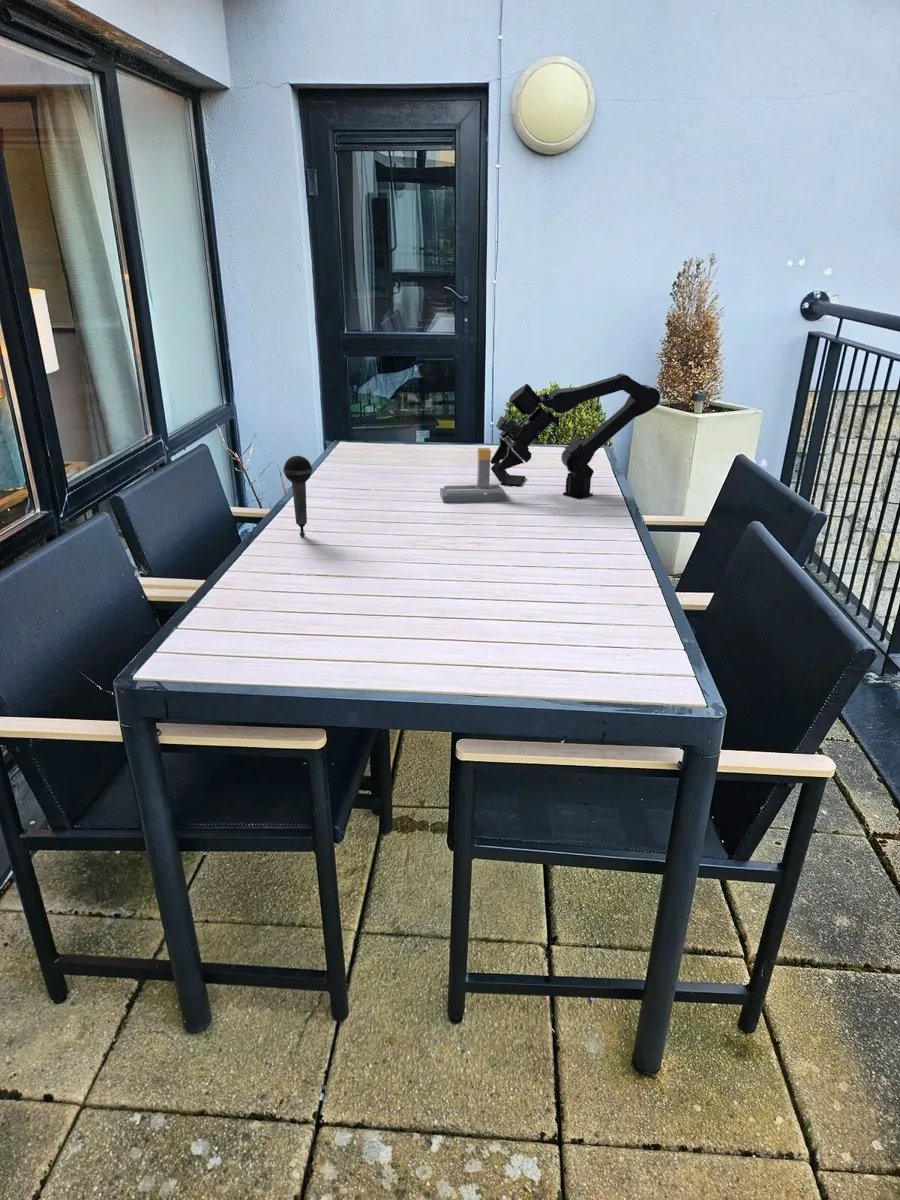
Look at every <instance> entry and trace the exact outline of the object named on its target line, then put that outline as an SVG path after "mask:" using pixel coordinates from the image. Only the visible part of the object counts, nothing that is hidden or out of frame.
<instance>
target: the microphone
mask: <svg viewBox="0 0 900 1200" xmlns="http://www.w3.org/2000/svg"><path fill="white" fill-rule="evenodd" d="M282 472H283V473H284V476H285V478H286V479H287V480H288V481H290V482H291V487H292V497H293V506H294V507H293V508H294V515H295V523H296V525H298V527H300V532H299V536H300V537H301V538H303V537H305V536H306V533H305V531H304V527H305V526H306V525H307V523H308V516H307V514H308V513H307V512H308V511H307V485H306V482H307V481H308V480H309V479H310V478H311V476H312V474H313V473H312V472H313V467H312V464H311V462H310V461H309V460H308V458H306V457H304V456H302V455H294V456H291V457H289V458H288V459H287V460H286V461H285V463H284V466H283V469H282Z"/></svg>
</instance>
